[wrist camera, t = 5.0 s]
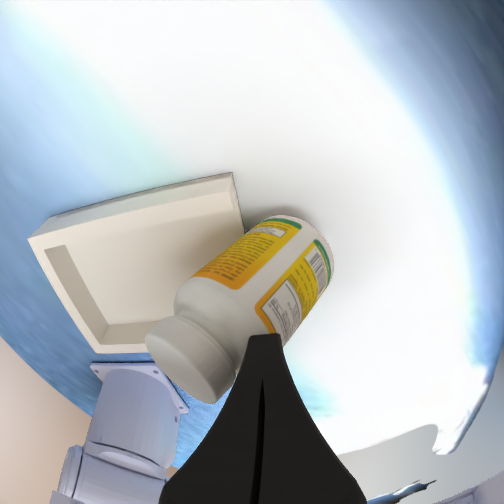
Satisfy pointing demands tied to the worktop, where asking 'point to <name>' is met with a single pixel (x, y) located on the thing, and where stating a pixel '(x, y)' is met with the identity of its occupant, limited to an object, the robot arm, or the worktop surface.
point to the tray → (135, 256)
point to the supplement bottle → (241, 304)
